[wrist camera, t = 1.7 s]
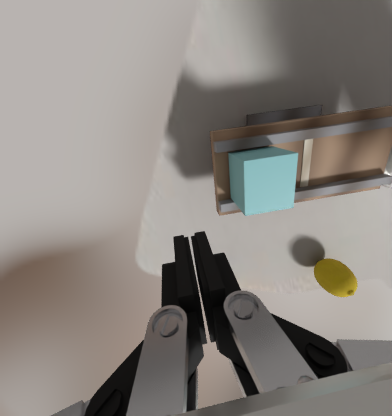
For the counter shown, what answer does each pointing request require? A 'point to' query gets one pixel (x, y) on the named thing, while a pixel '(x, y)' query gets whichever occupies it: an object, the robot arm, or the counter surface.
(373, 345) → the robot arm
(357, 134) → the wooden tray
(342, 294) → the lemon
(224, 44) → the counter surface
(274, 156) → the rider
